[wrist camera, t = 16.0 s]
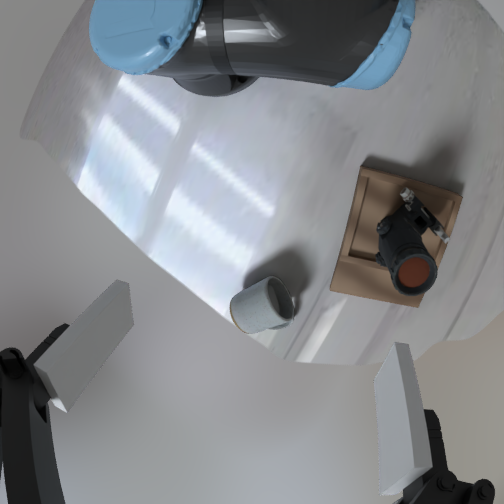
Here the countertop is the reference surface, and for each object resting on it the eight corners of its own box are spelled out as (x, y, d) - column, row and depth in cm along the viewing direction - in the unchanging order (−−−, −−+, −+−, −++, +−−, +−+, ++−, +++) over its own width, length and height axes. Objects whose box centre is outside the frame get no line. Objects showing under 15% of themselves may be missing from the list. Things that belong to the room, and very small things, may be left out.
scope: (474, 261, 27) (410, 318, 32) (436, 219, 40) (390, 263, 44) (434, 211, 26) (366, 277, 31) (401, 180, 39) (354, 229, 43)
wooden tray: (360, 165, 40) (362, 168, 38) (457, 193, 38) (462, 197, 36) (329, 287, 49) (329, 294, 48) (416, 304, 47) (419, 311, 45)
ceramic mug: (232, 288, 53) (220, 315, 46) (271, 266, 50) (263, 293, 43) (268, 330, 56) (261, 359, 49) (306, 312, 53) (303, 342, 46)
